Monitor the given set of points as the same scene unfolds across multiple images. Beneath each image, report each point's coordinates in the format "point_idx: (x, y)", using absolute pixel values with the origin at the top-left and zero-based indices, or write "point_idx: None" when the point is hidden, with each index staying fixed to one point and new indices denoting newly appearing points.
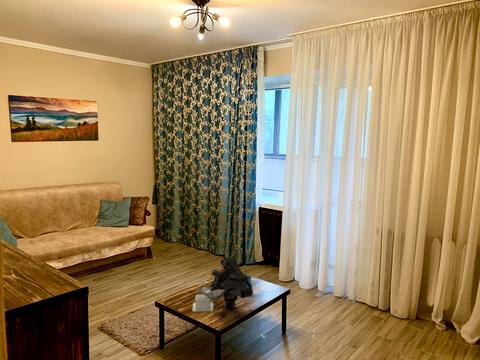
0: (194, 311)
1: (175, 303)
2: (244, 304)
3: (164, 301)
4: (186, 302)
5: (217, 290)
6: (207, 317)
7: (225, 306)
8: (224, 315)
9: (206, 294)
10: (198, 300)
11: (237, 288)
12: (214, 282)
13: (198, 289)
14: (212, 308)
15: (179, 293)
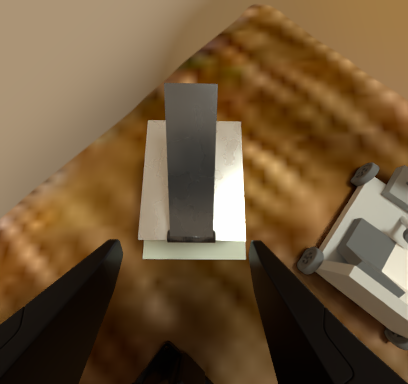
0: None
1: (246, 62)
2: None
3: (266, 19)
4: (258, 109)
5: (383, 308)
6: (76, 224)
7: (180, 356)
8: None
9: (177, 200)
10: (148, 144)
11: None
12: (300, 361)
13: (195, 92)
14: (164, 255)
15: (358, 72)
